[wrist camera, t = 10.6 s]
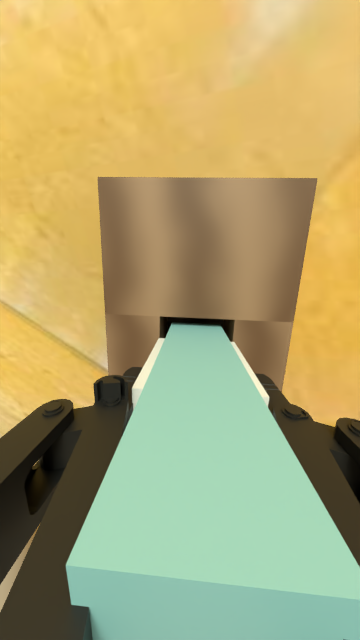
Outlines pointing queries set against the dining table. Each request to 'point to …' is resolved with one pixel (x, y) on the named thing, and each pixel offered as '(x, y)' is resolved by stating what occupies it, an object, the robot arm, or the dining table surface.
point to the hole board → (203, 262)
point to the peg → (210, 516)
